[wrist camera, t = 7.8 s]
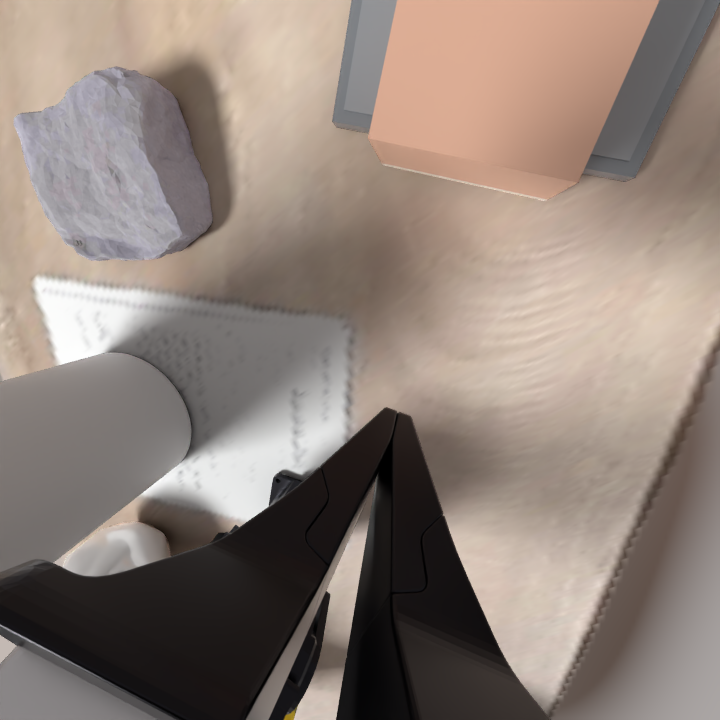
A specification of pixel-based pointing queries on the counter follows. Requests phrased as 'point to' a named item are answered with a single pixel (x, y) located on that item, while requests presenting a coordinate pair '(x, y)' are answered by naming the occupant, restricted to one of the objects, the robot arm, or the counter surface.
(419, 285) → the counter surface
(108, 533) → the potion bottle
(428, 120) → the salmon orange block
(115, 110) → the stone block
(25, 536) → the cylinder vase
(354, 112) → the slate board
